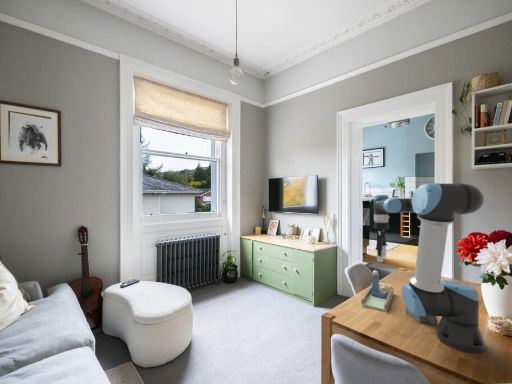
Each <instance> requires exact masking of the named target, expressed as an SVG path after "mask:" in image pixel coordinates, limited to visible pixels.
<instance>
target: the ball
mask: <svg viewBox="0 0 512 384" xmlns="http://www.w3.org/2000/svg"><path fill="white" fill-rule="evenodd" d="M380 290H384V291H388V288H387V287H386V286H381V288H380Z"/></svg>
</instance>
